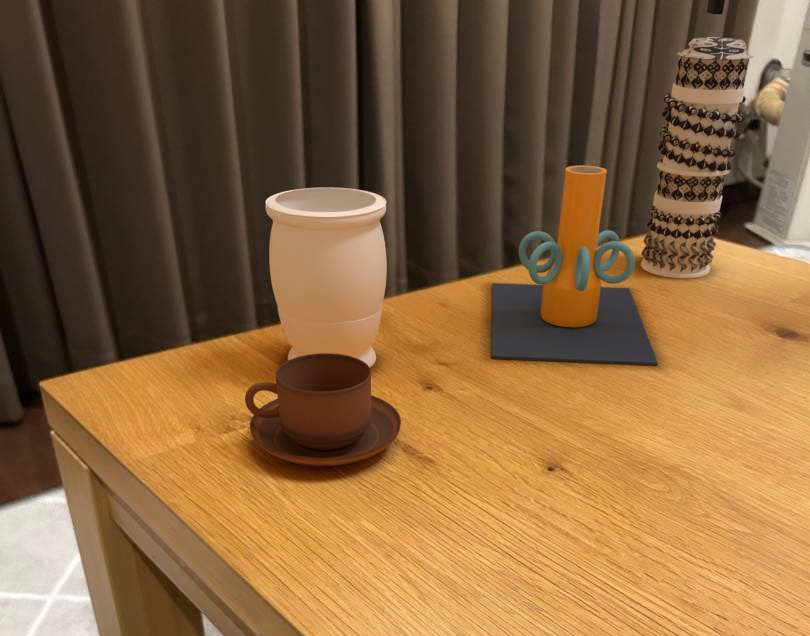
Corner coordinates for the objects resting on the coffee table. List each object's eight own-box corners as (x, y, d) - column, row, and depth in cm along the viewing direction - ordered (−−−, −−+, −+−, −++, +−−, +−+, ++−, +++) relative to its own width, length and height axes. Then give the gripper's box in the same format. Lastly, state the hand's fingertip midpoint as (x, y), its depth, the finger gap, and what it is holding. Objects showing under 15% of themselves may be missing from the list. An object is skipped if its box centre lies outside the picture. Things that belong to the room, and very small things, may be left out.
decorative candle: (635, 254, 113) (670, 34, 99) (708, 258, 112) (754, 36, 98) (638, 276, 106) (677, 41, 91) (717, 281, 105) (768, 44, 90)
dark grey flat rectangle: (657, 365, 83) (657, 362, 83) (491, 358, 85) (491, 355, 84) (628, 290, 102) (629, 288, 101) (492, 285, 103) (492, 282, 102)
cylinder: (557, 346, 86) (575, 188, 78) (493, 314, 94) (503, 166, 85) (644, 323, 92) (670, 173, 83) (578, 295, 99) (595, 154, 91)
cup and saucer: (274, 492, 64) (267, 417, 60) (237, 423, 73) (229, 353, 69) (423, 463, 67) (425, 390, 64) (370, 400, 77) (369, 334, 73)
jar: (404, 352, 86) (406, 193, 77) (356, 392, 78) (352, 220, 69) (311, 334, 89) (302, 180, 81) (256, 371, 81) (240, 205, 73)
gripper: (706, -356, 58) (652, 15, 70) (1098, -360, 56) (973, 20, 68) (686, -327, 64) (639, 9, 76) (1038, -330, 62) (933, 14, 74)
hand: (797, 15), depth 72 cm, fingers open, 13 cm apart
